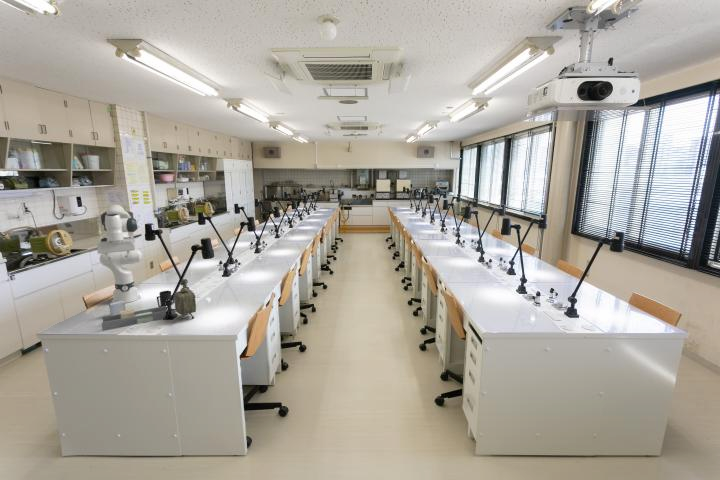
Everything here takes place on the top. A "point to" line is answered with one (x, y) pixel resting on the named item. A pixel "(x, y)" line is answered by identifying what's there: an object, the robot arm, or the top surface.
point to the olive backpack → (185, 301)
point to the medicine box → (117, 308)
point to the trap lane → (134, 318)
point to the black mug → (163, 297)
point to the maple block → (127, 314)
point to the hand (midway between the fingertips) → (118, 258)
